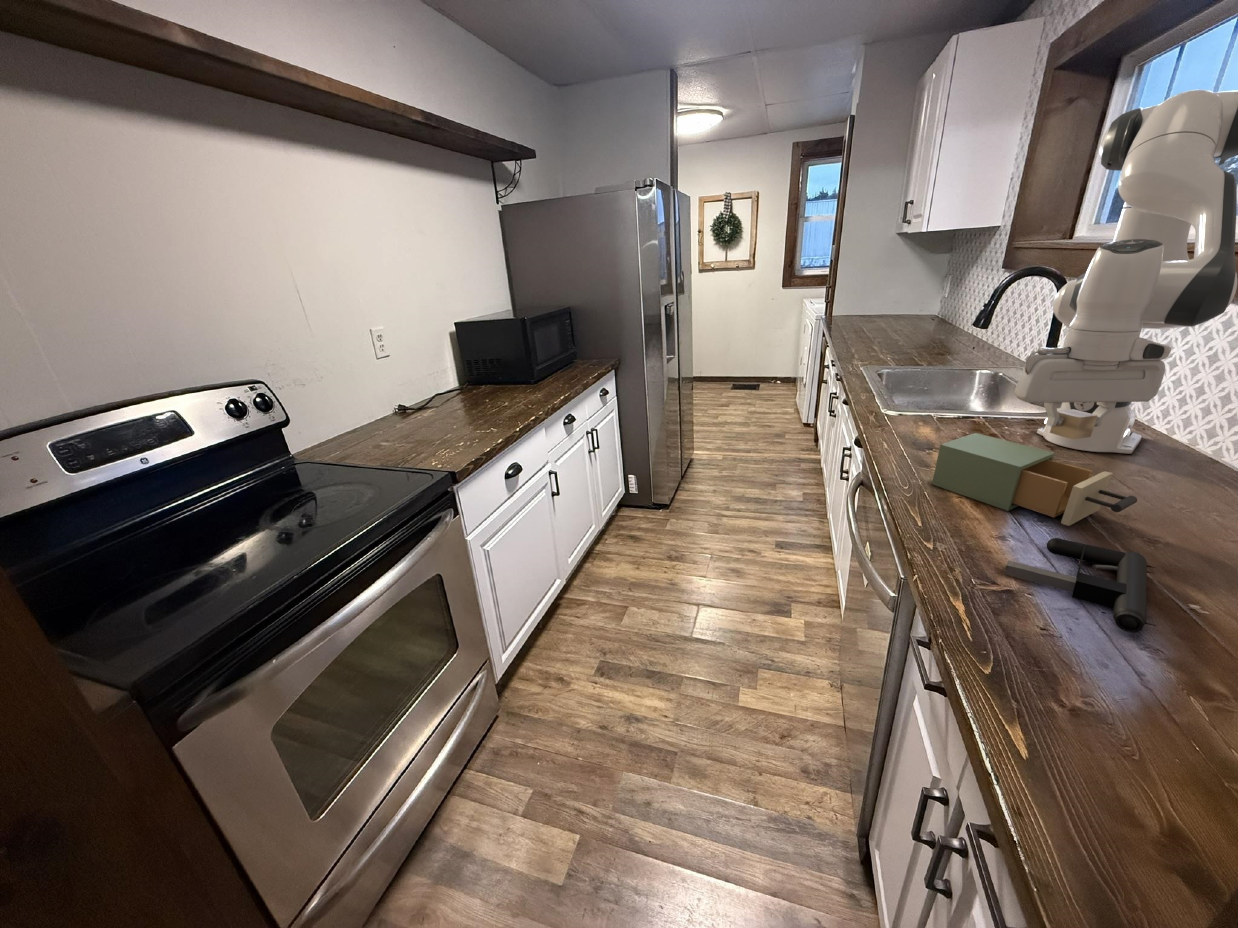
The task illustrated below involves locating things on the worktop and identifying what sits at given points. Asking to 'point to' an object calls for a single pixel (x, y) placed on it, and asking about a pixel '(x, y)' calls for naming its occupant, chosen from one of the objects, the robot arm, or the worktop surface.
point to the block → (1075, 424)
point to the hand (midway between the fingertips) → (1072, 425)
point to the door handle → (1097, 580)
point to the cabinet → (985, 468)
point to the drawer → (1065, 491)
